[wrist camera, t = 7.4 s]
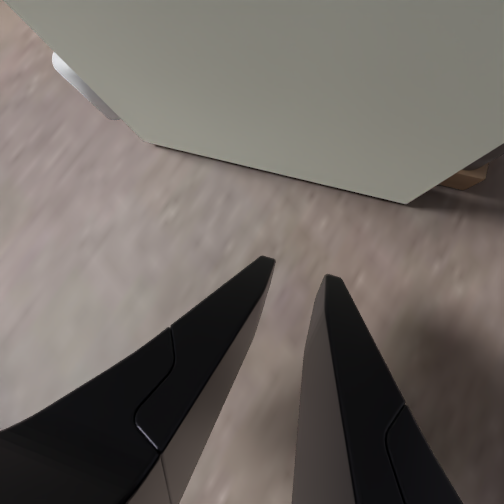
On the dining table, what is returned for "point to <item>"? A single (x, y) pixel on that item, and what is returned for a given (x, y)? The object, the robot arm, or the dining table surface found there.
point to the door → (294, 81)
